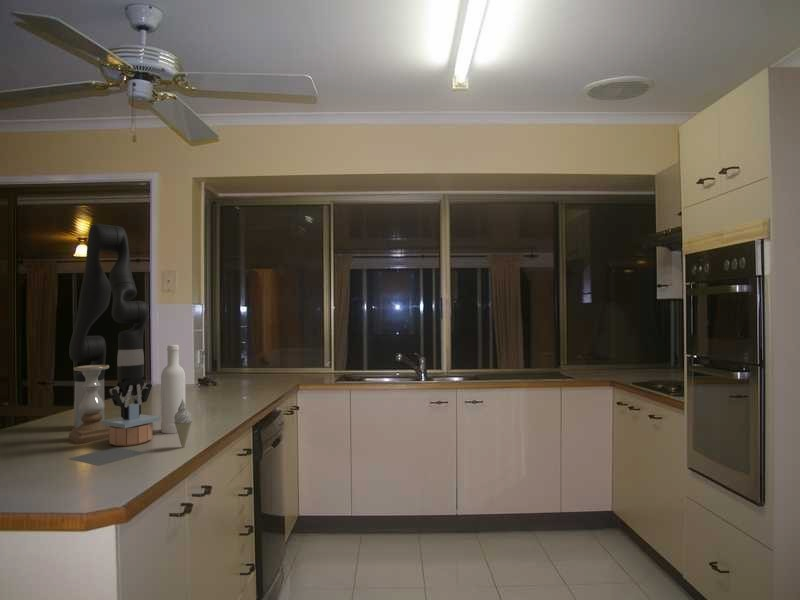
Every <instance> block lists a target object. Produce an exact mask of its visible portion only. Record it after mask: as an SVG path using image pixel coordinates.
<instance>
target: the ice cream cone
mask: <svg viewBox="0 0 800 600" xmlns="http://www.w3.org/2000/svg"><path fill="white" fill-rule="evenodd" d="M174 419H175V420H174V423H175V426H176V429H177V432H178V433H177V435H178V439H179V442H180V445H181V448H186V447H185V446H186V443H187V440H188V436H189V432H190V428H191V425H192V422H193V420H192V414H191V411H189V410H188V406H187V405H185V403H184V401H183V399H182V402H181V404H180V406H179V408H178V412H177V413H176V414H175V416H174Z"/></svg>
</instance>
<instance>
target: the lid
mask: <svg viewBox="0 0 800 600" xmlns="http://www.w3.org/2000/svg"><path fill="white" fill-rule="evenodd" d="M160 421H161V416H157V415H150V414H149V415H148V414H142V413H141V414H140V416H139V404H137V403H134V402H131V403H128V419H123V418H122V417H121V416H119V417H114V418H108V419H104V420H102V421H101V425H107V426H114V427H120V428H128V427H133V426H138V425H142V424H147V423H151V422H152V423H155V422H160Z"/></svg>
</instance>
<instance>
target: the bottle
mask: <svg viewBox="0 0 800 600" xmlns="http://www.w3.org/2000/svg"><path fill="white" fill-rule="evenodd" d="M166 347H167V348H166V351H167V365H166V366H165V367H164V368H163V370H162V372H161V375H160V391H161V392H160V395H161V397H160V399H161V401H160V404H161V405H160V406H161V408H160V410H161V411H160V412H161V413H160V414H161V416H160V421H161V423H160V427H161V433H162V434H168V435H169V434H170V435H171V434H172V435H173V434H178V432H177V429H176V426H175V423H174V420H175V419H174V416H175V414H176V413H177V412H178V408H179V406H180V404H181V402H182V399H183V401H184V403H185V405H186V372H185V370H184V368H183V367H182V366H181V365H180V364H179V363H180V360H179V359H180V358H179V357H180V352H179V351H180V345H179V344H168V345H167V346H166ZM186 406H187V405H186Z"/></svg>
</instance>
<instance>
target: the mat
mask: <svg viewBox="0 0 800 600" xmlns="http://www.w3.org/2000/svg"><path fill="white" fill-rule="evenodd" d="M145 454H146V452H145V451H139V450H134V449H128V448H124V447H120V446H113V447H108V448H106V449H101V450H97V451H92V452H89V453H84V454H81V455H77V456H72V457H69V458H67V459H68V460H71V461H76V462H80V463H84V464H89V465H94V466H98V467H100V466H103V465H108V464H111V463H114V462H119V461H122V460H125V459H129V458H133V457H137V456H140V455H145Z"/></svg>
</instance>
